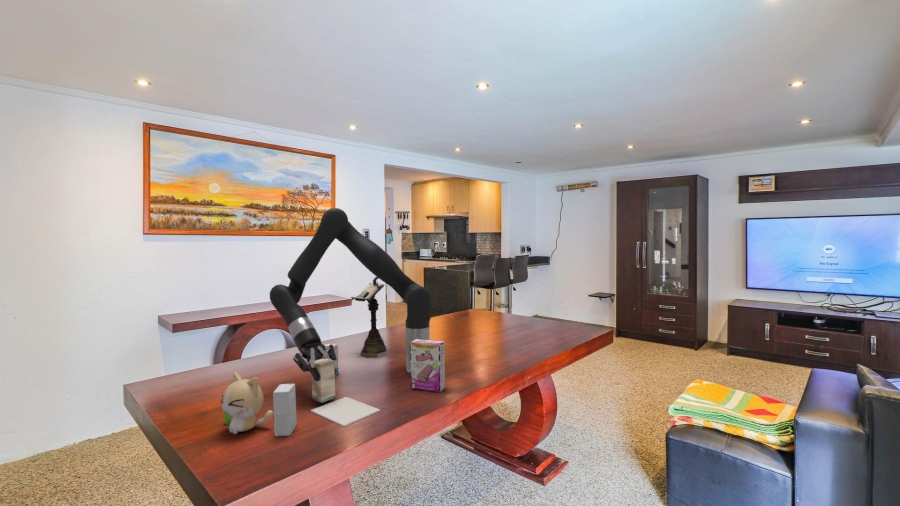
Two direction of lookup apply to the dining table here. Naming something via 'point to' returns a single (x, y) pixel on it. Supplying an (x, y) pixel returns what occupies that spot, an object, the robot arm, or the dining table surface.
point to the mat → (345, 411)
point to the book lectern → (372, 321)
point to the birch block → (324, 380)
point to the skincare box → (284, 409)
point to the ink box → (336, 356)
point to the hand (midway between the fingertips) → (326, 377)
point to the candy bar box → (427, 365)
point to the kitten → (243, 404)
